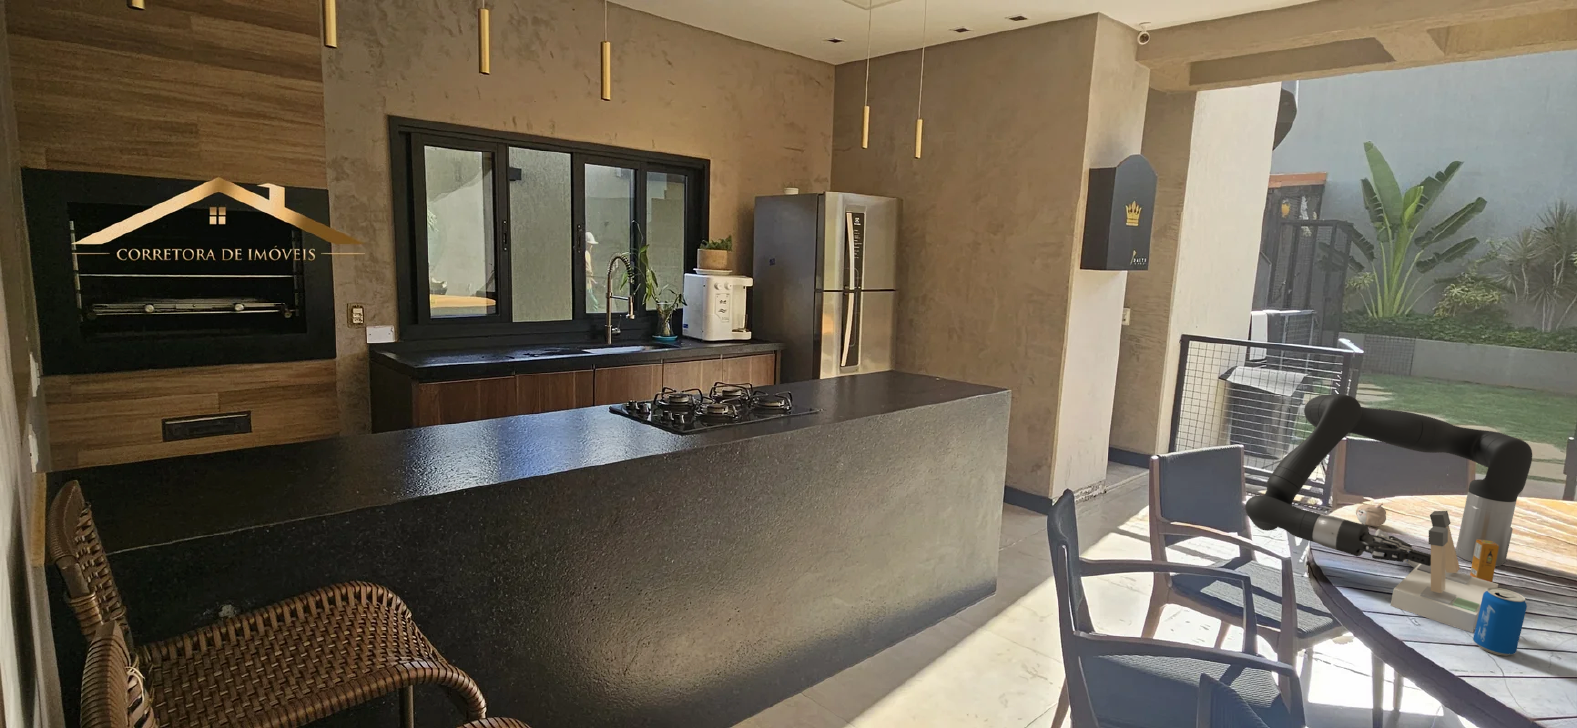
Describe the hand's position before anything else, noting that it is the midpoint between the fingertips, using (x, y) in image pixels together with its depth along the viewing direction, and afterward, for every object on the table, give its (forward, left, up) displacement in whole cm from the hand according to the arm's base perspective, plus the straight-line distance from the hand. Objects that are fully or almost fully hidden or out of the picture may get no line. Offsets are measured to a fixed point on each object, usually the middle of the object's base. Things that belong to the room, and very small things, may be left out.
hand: (1432, 560), depth 168 cm
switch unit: (-8, -2, -12) cm, 14 cm away
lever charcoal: (-15, -7, -6) cm, 17 cm away
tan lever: (-1, +2, -6) cm, 6 cm away
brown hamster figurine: (-33, -45, -12) cm, 57 cm away
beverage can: (+1, +16, -12) cm, 20 cm away
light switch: (-17, -21, -12) cm, 29 cm away
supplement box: (-29, -11, -12) cm, 33 cm away
